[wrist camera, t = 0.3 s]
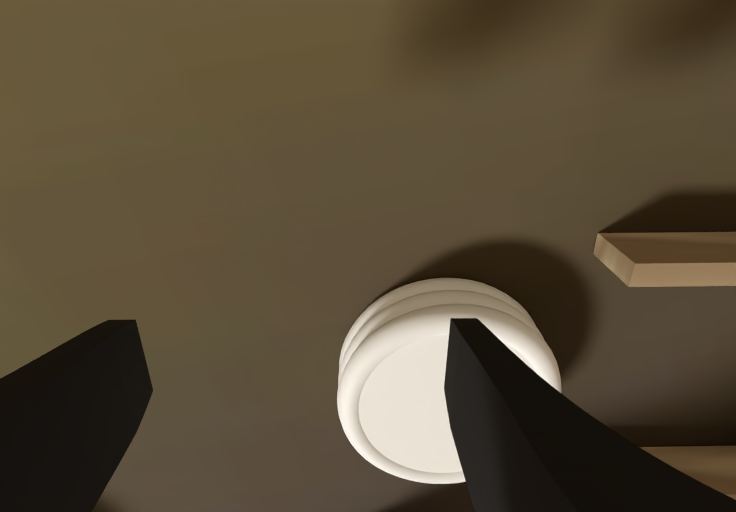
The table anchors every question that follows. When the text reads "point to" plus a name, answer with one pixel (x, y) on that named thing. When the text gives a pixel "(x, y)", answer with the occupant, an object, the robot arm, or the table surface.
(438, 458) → the coaster
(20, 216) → the table surface
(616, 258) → the coaster rack
